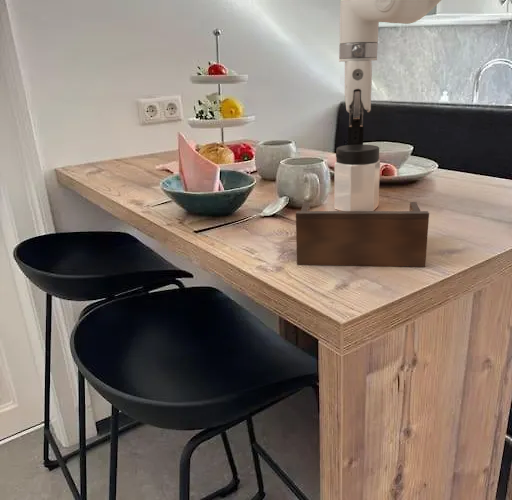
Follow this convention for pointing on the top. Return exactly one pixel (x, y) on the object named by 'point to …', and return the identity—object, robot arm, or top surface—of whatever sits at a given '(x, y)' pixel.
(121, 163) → the top surface
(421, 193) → the top surface
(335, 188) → the jar
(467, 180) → the top surface
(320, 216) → the brown wooden tray
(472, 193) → the top surface
